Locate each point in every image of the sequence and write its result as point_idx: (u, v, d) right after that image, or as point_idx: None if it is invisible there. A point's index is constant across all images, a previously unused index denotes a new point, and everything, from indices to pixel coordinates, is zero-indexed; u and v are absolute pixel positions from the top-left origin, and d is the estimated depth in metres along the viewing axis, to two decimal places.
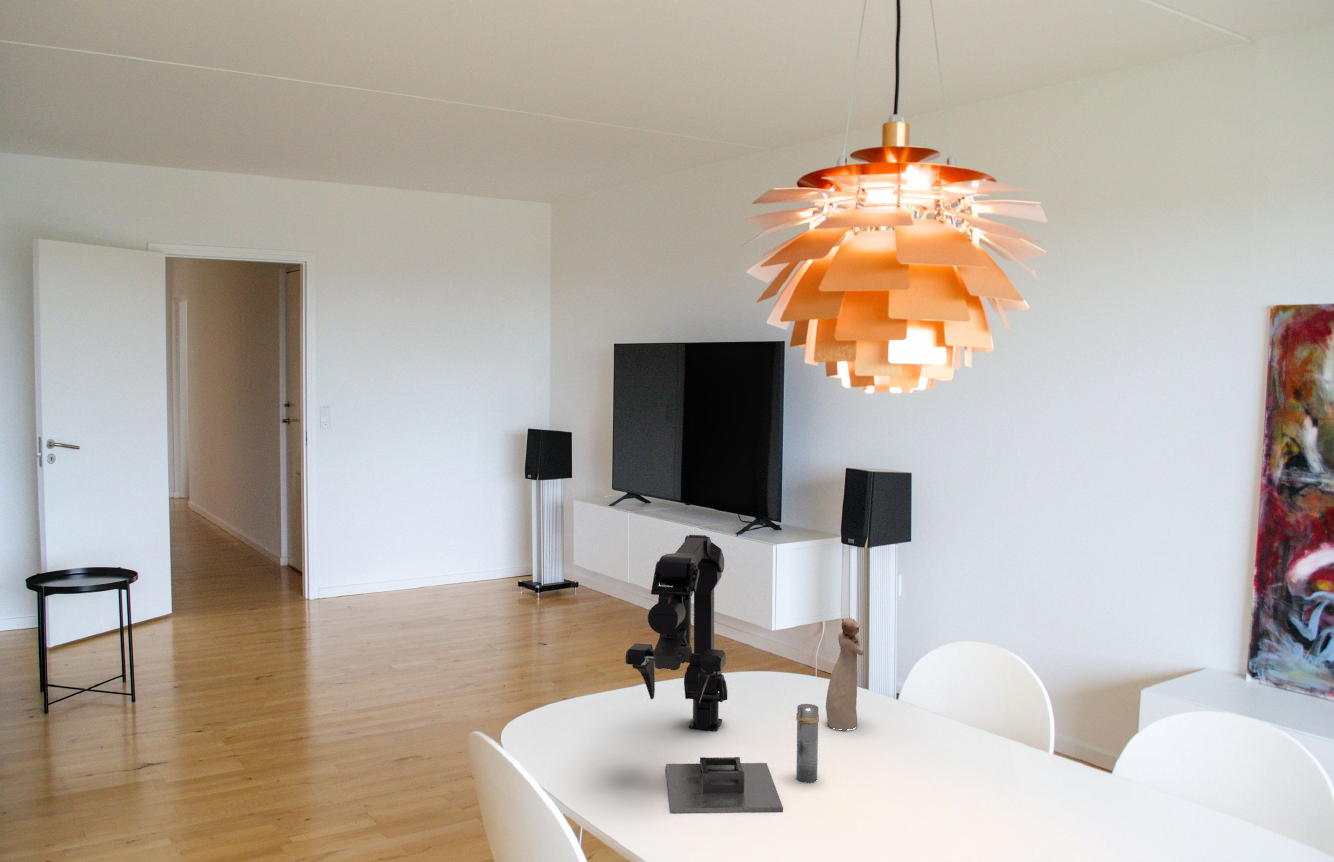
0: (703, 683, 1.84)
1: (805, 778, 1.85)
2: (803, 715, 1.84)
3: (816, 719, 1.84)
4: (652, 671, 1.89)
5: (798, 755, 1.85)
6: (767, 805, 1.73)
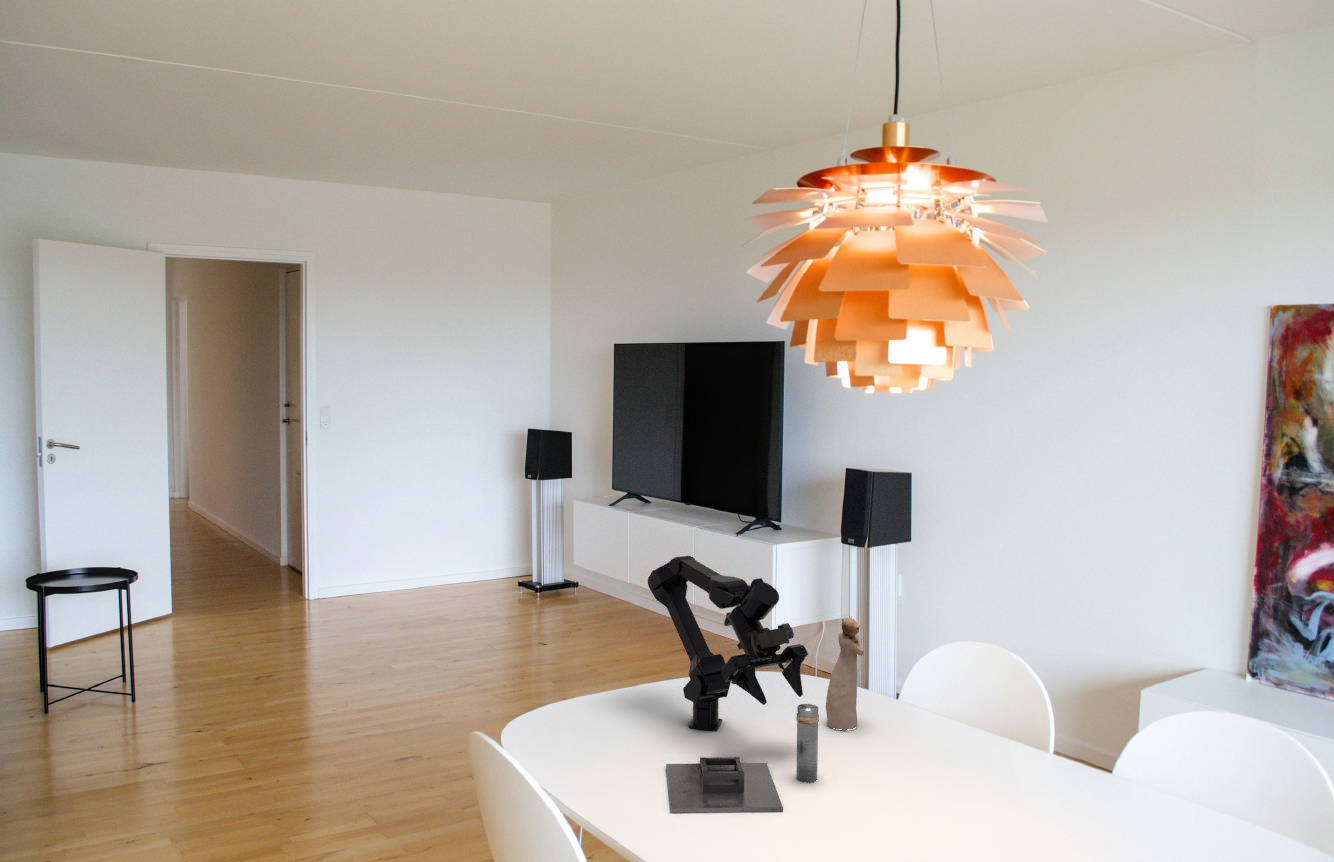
0: (799, 672, 1.97)
1: (805, 778, 1.85)
2: (803, 715, 1.84)
3: (816, 719, 1.84)
4: None
5: (798, 755, 1.85)
6: (767, 805, 1.73)
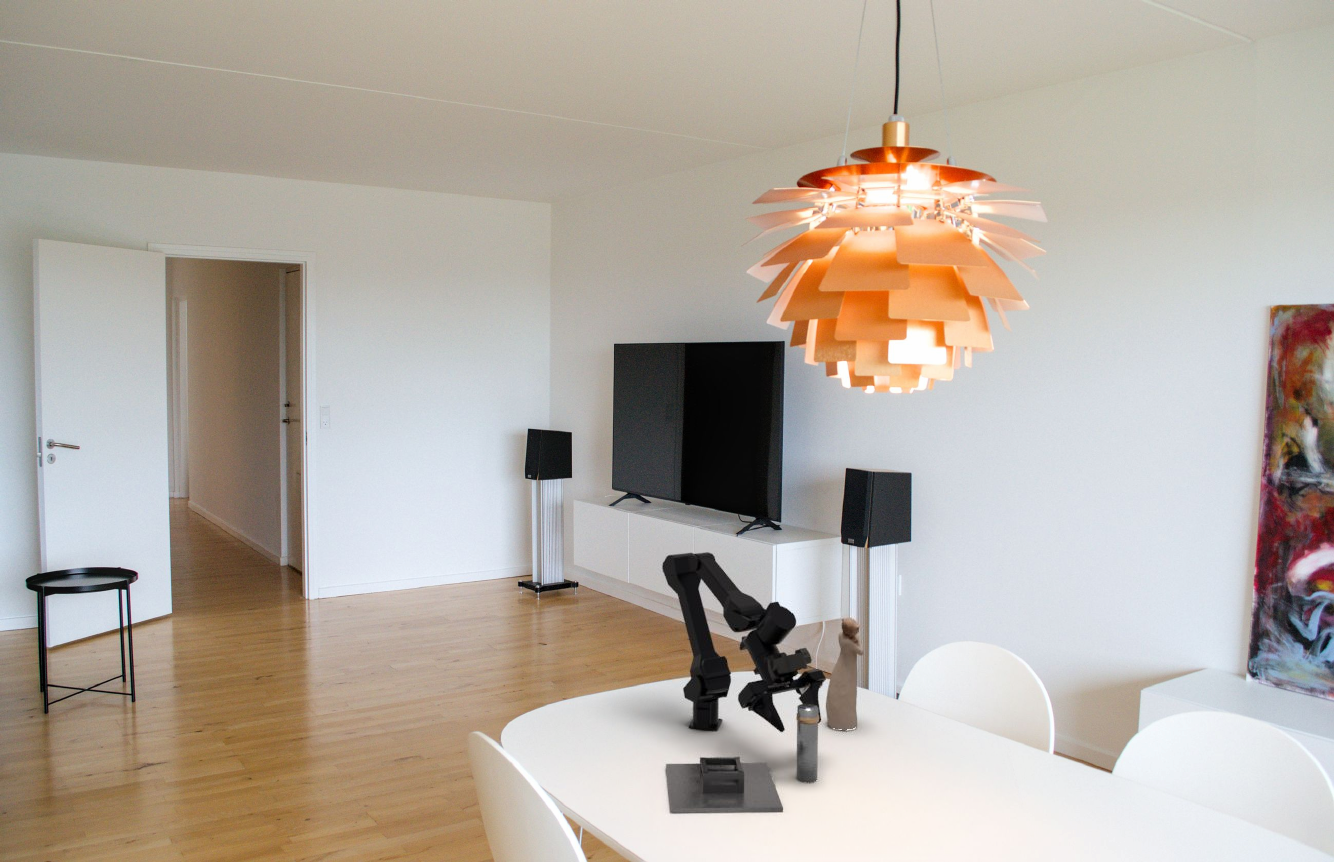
0: (817, 698, 1.92)
1: (805, 778, 1.85)
2: (803, 715, 1.84)
3: (816, 719, 1.84)
4: None
5: (798, 755, 1.85)
6: (767, 805, 1.73)
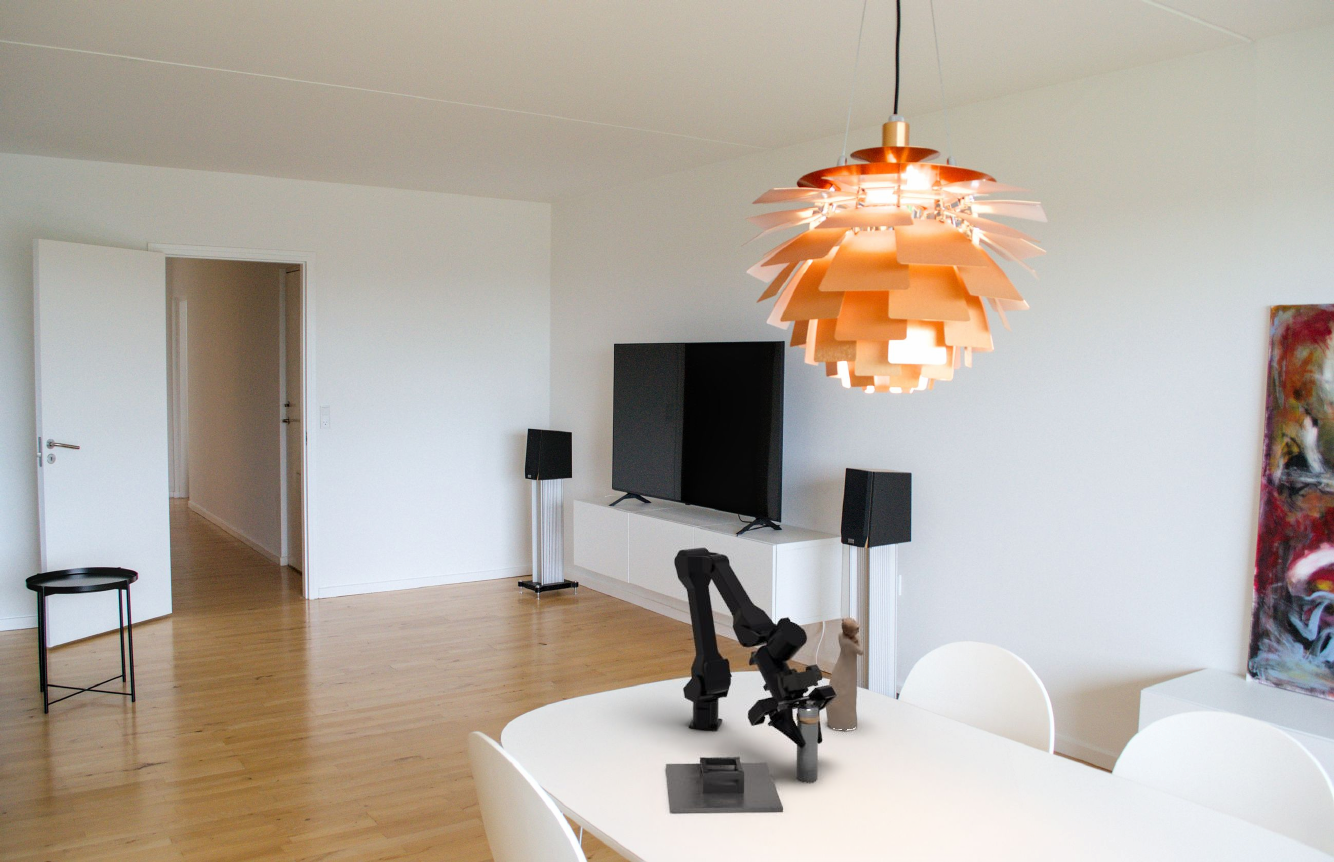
0: None
1: (805, 778, 1.85)
2: (803, 715, 1.84)
3: (816, 718, 1.84)
4: None
5: (798, 755, 1.85)
6: (767, 805, 1.73)
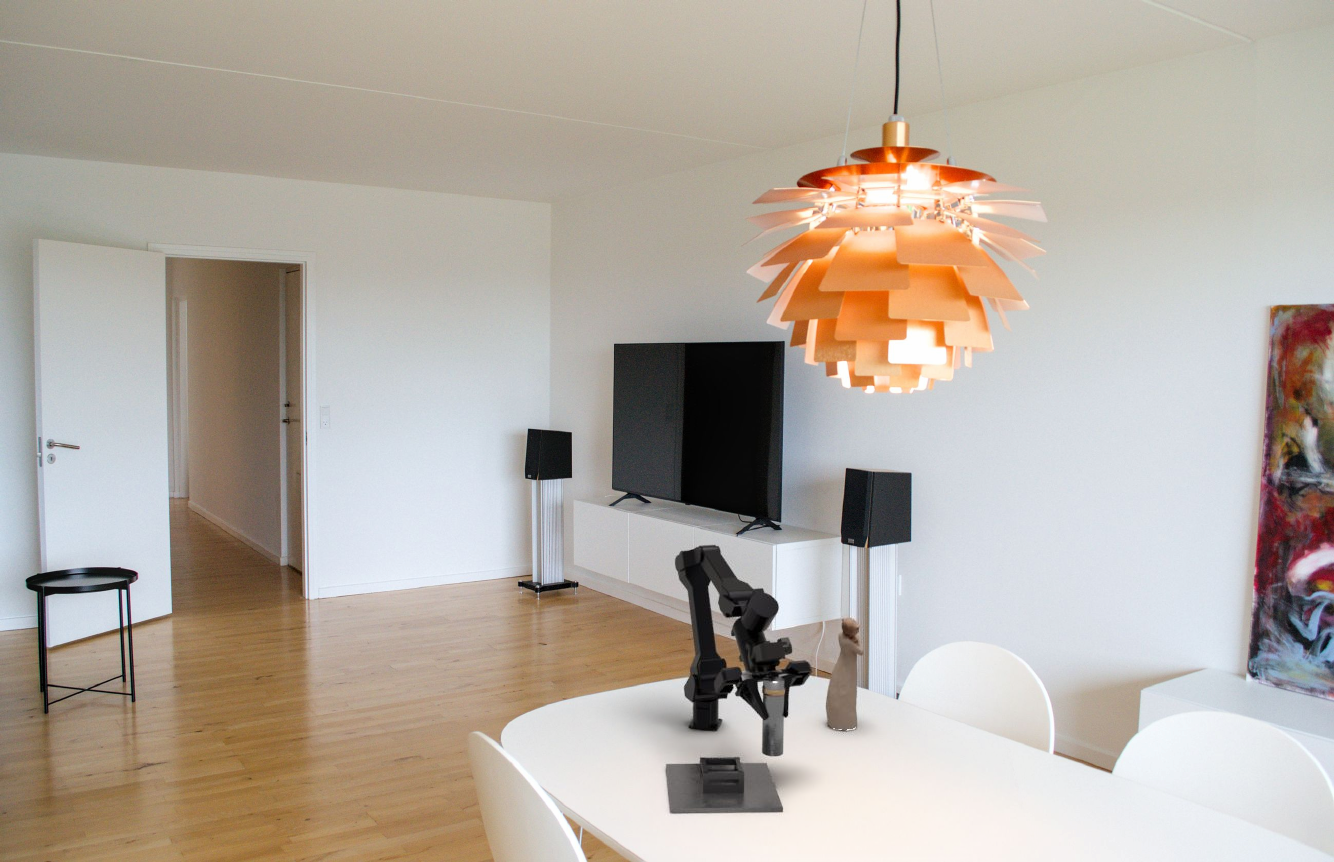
0: (787, 691, 1.84)
1: (769, 752, 1.81)
2: (766, 687, 1.81)
3: (780, 691, 1.80)
4: None
5: (763, 727, 1.82)
6: (767, 805, 1.73)
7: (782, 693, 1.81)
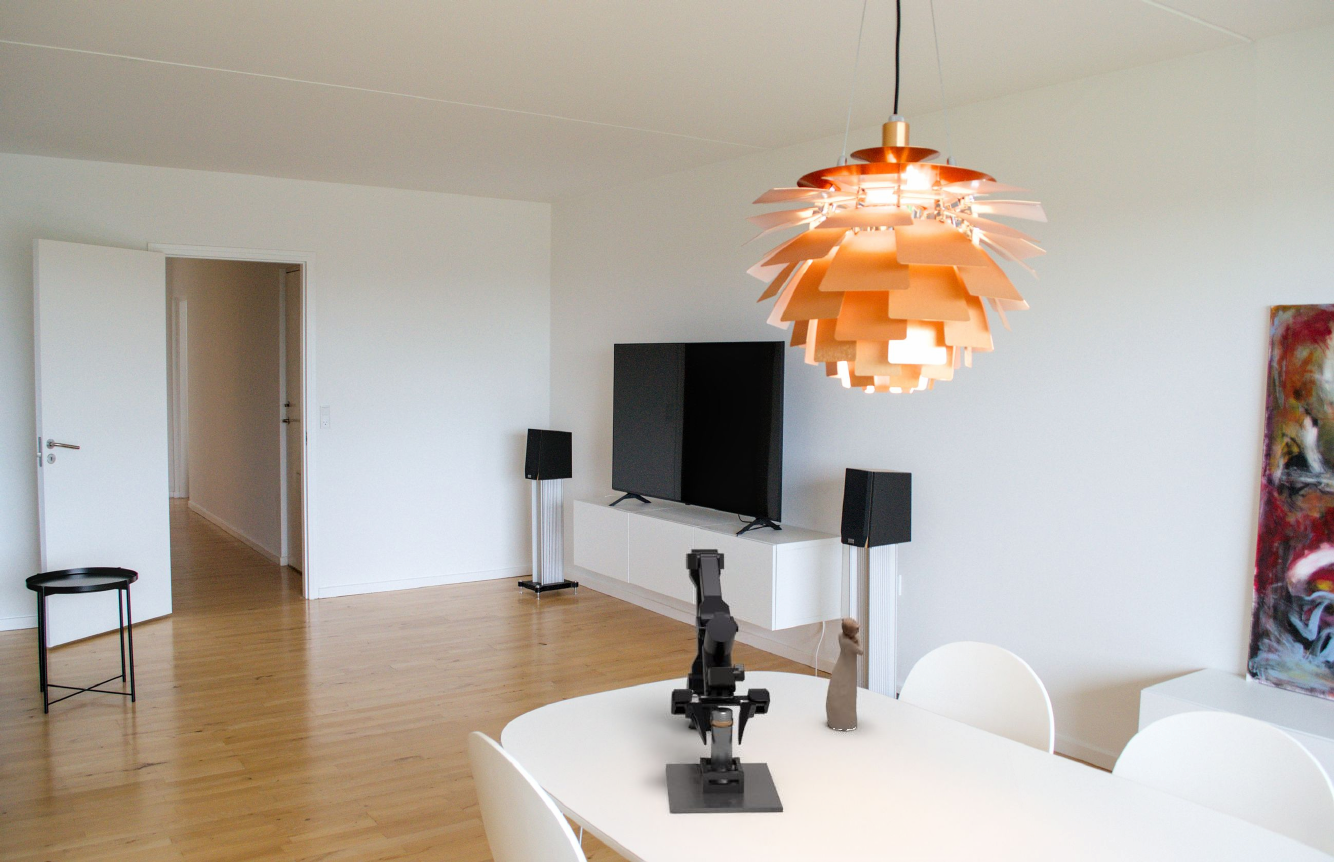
0: (745, 718, 1.82)
1: None
2: (712, 717, 1.80)
3: (725, 723, 1.79)
4: None
5: (711, 758, 1.82)
6: (767, 805, 1.73)
7: (727, 725, 1.79)
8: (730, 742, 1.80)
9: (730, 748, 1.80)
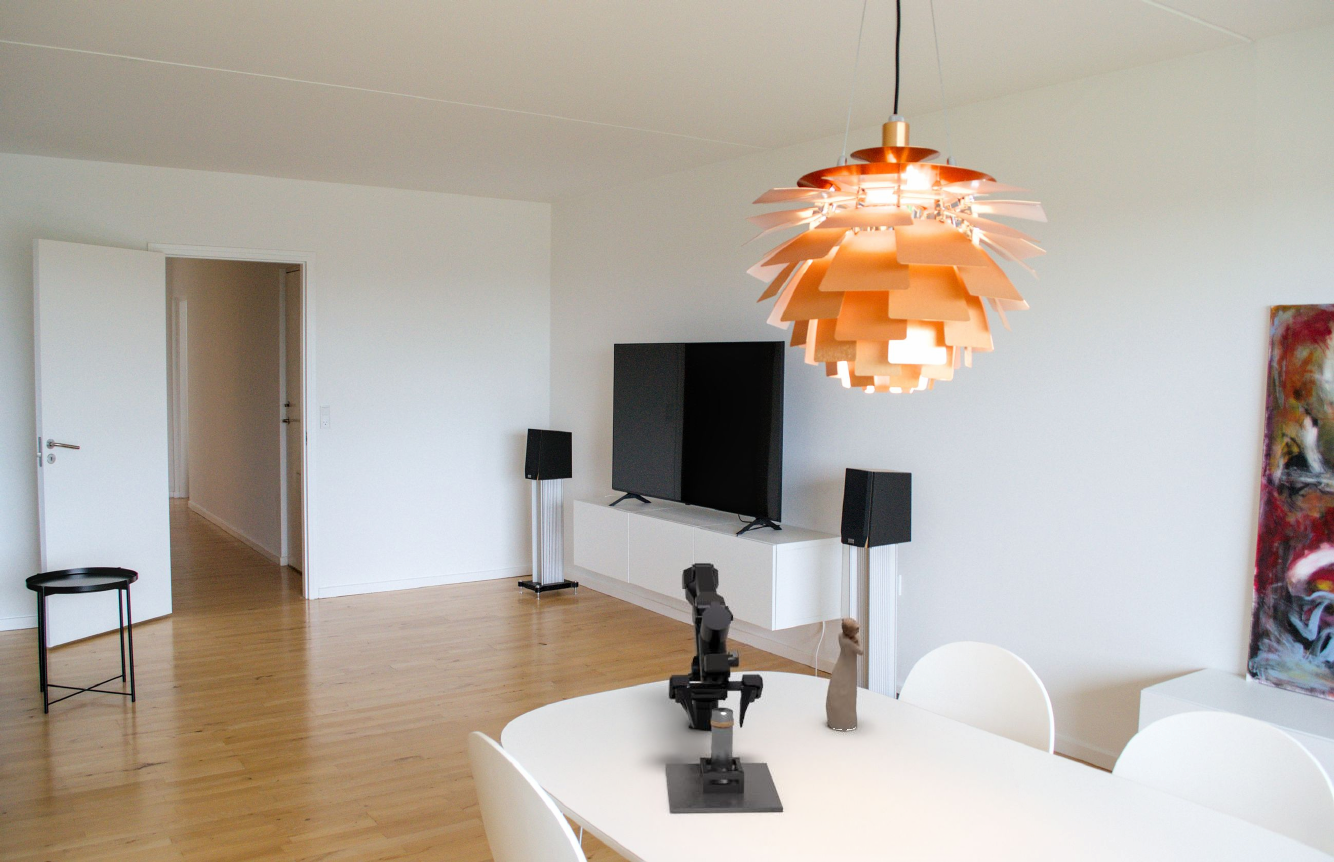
0: (746, 702, 1.91)
1: None
2: (713, 718, 1.80)
3: (725, 724, 1.79)
4: None
5: (711, 758, 1.81)
6: (767, 805, 1.73)
7: (728, 725, 1.79)
8: (730, 743, 1.80)
9: (730, 749, 1.80)
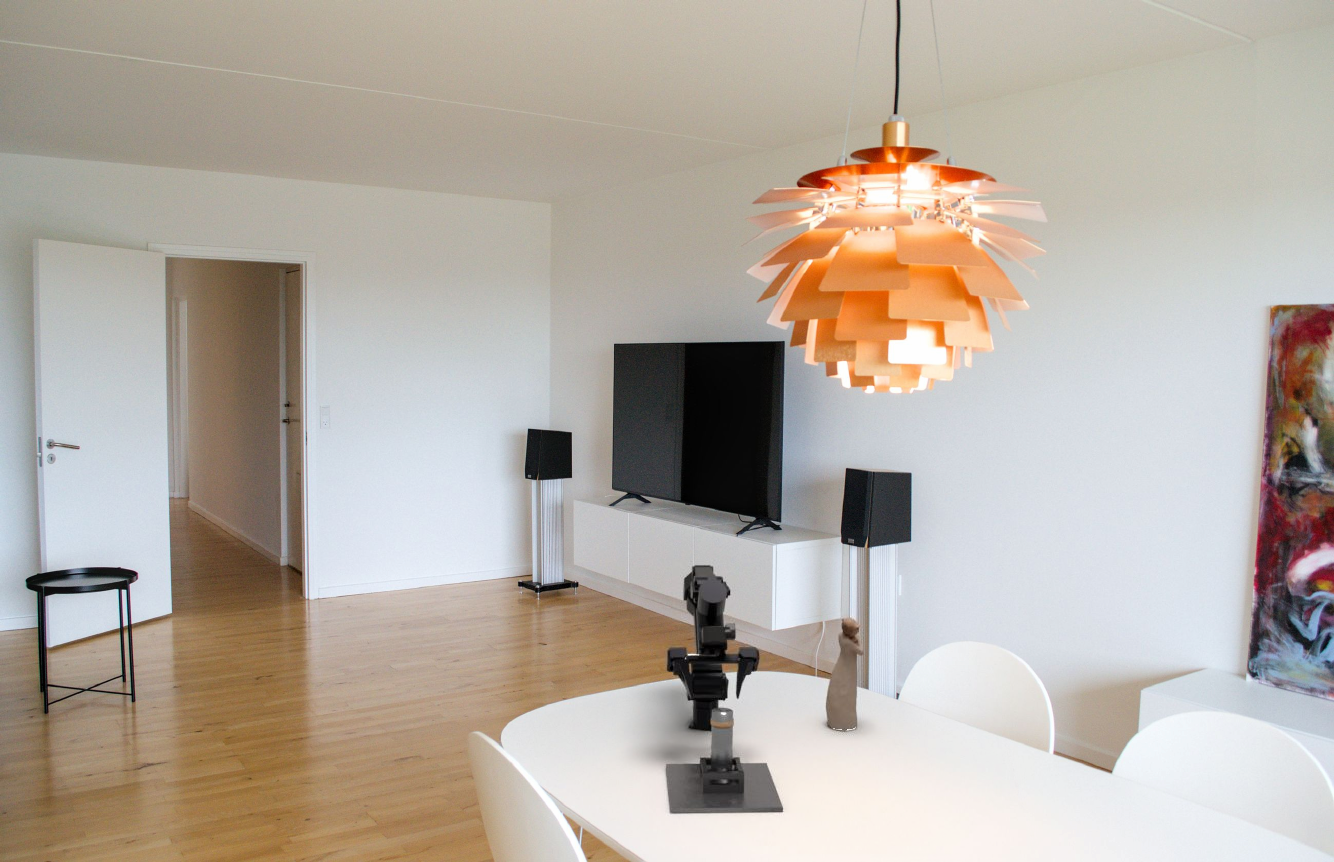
0: (743, 674, 1.94)
1: None
2: (713, 718, 1.80)
3: (725, 724, 1.79)
4: None
5: (711, 758, 1.81)
6: (767, 805, 1.73)
7: (728, 726, 1.79)
8: (730, 743, 1.80)
9: (730, 749, 1.80)
